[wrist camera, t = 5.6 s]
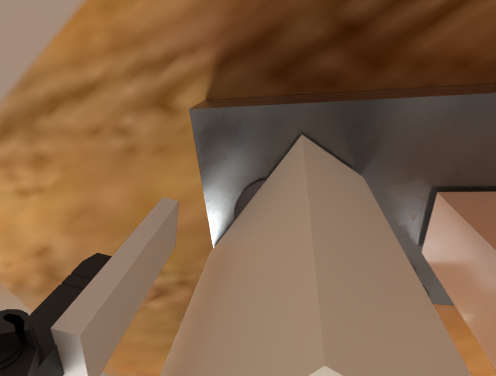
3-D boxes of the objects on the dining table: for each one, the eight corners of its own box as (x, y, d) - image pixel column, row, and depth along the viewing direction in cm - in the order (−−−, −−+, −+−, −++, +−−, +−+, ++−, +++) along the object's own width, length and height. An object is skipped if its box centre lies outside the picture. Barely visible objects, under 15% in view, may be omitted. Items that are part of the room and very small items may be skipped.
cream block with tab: (301, 134, 12) (331, 427, 3) (363, 177, 12) (565, 549, 3) (210, 252, 16) (97, 527, 7) (258, 281, 17) (215, 572, 7)
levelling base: (650, 74, 11) (828, 87, 8) (534, 278, 17) (604, 345, 13) (204, 100, 15) (174, 117, 11) (228, 263, 20) (213, 312, 16)
